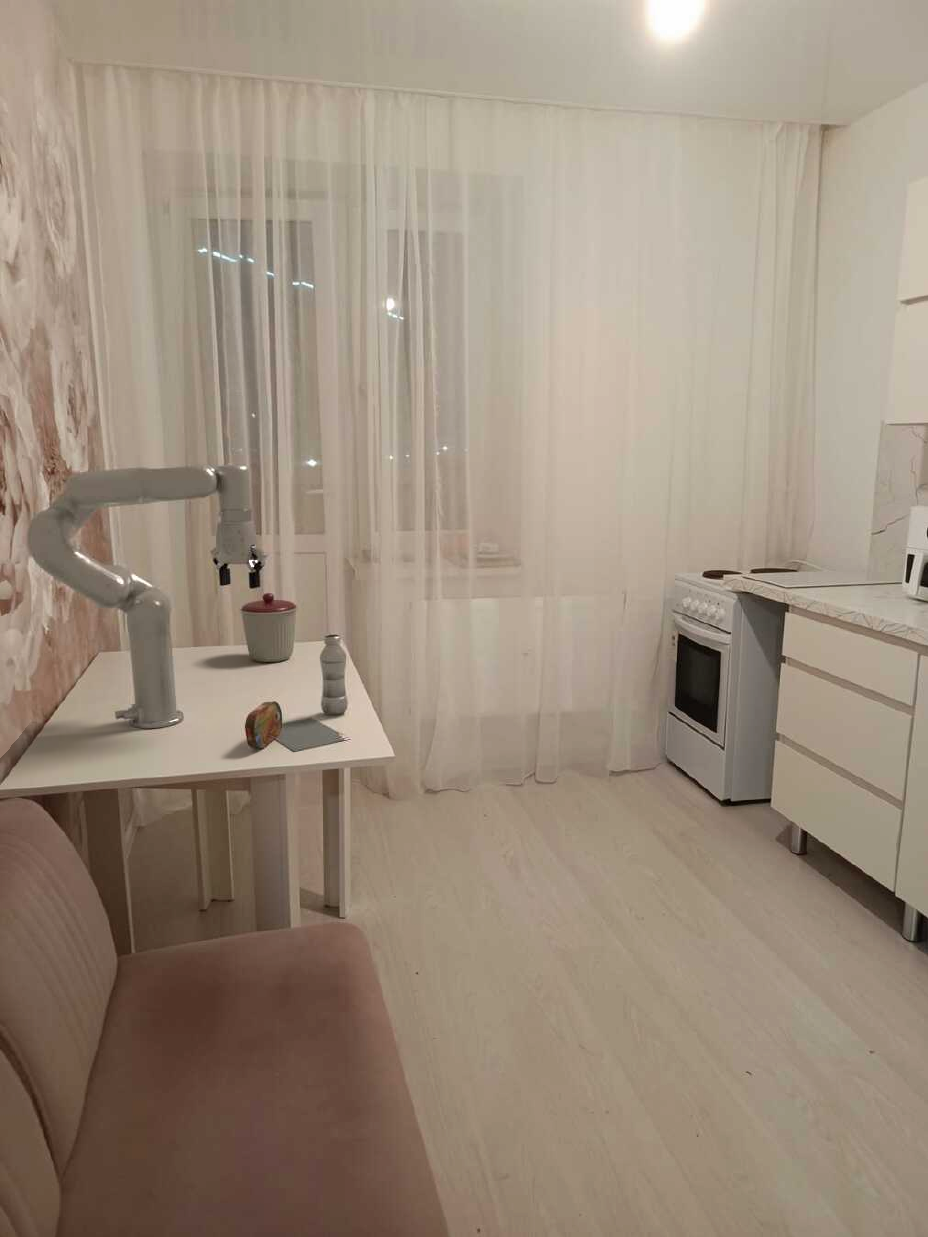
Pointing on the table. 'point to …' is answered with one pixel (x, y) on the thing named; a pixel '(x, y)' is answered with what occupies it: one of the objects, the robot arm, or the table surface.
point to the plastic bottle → (333, 676)
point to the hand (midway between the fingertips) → (240, 586)
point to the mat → (306, 734)
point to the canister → (269, 628)
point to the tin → (263, 724)
